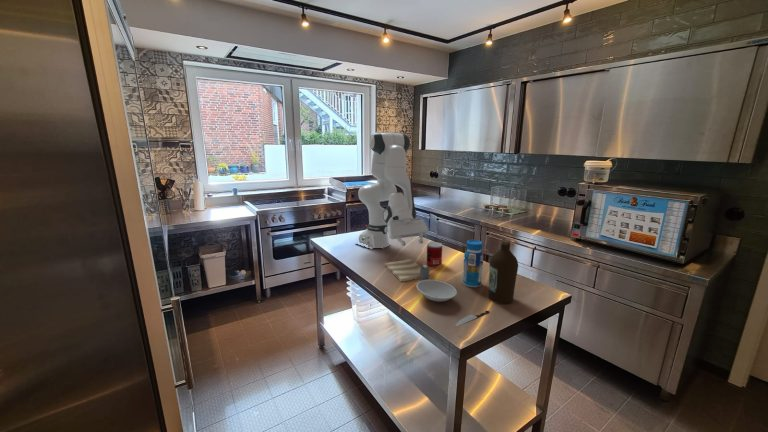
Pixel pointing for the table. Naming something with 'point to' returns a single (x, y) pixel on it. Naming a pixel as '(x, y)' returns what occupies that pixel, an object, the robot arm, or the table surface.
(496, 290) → the olive oil
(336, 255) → the table surface
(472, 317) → the chef's knife
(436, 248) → the canned food
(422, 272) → the dark grey cylinder
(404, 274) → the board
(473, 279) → the beverage bottle
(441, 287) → the dish
